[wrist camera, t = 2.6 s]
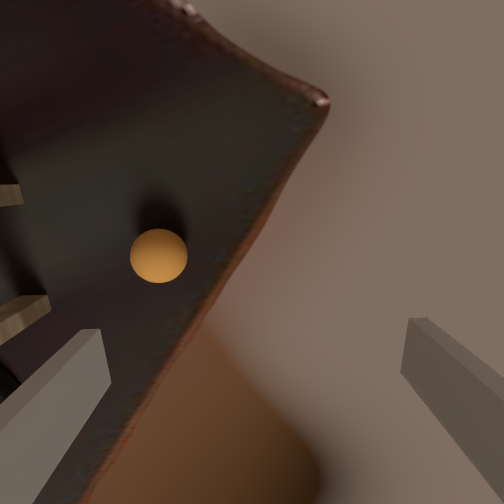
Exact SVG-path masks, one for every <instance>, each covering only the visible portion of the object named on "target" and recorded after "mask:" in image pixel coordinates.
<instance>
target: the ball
mask: <svg viewBox="0 0 504 504" xmlns="http://www.w3.org/2000/svg"><path fill="white" fill-rule="evenodd" d="M130 260H131V264H132V267H133V269H134V270H135V272H136V273H137V274H138V275H139V276H140V277H142V278H143V279H145V280H147V281H150V282H155V283H163V282H167V281H170V280H172V279H174V278H176V277H177V276H178V275H179V274H180V273H181V272H182V271H183V269H184V268H185V265H186V262H187V249H186V246H185V244H184V242H183V241H182V239H181V238H180V237H179V236H178V235H176V234H175V233H173V232H171V231H169V230H166V229H152V230H149V231H146V232H144V233H143V234H141V235H140V236H139V237H138V238H137V239H136V240H135V242H134V243H133V245H132V248H131V252H130Z"/></svg>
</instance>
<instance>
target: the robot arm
mask: <svg viewBox="0 0 504 504" xmlns="http://www.w3.org/2000/svg"><path fill="white" fill-rule="evenodd" d="M401 374H403V376H404V377H405V379H406V380H407V381H408V382H409V384H410V385H411V386H412V387H413V389H414V390H415V391H416V393H417V394H418V395H419V396H420V398H421V399H422V400H423V401H424V403H425V404H426V405H427V406H428V407H429V409H430V410H431V412H432V413H433V414H434V415H435V416H436V418H437V419H438V420H439V421H440V423H441V424H442V426H443V427H444V428H445V429H446V430H447V432H448V433H449V434H450V436H451V437H452V438H453V439H454V441H455V442H456V443H457V444H458V446H459V447H460V448H461V449H462V451H463V452H464V453H465V455H466V456H467V457H468V458H469V460H470V461H471V462H472V463H473V465H474V466H475V467H476V468H477V470H478V471H479V472H480V474H481V475H482V476H483V477H484V479H485V480H486V481H487V482H488V484H489V485H490V486H491V488H492V489H493V490H494V491H495V493H496V494H497V495H498V496H499V498H500V499H501V500H502V502H503V503H504V377H502V376H501V375H500V374H498V373H497V372H496V371H495V370H493V369H492V368H490V367H489V366H488V365H487V364H485V363H484V362H483V361H482V360H480V359H479V358H478V357H477V356H475V355H474V354H472V353H471V352H470V351H469V350H468V349H466V348H465V347H464V346H463V345H461V344H460V343H459V342H457V341H456V340H455V339H453V338H452V337H451V336H450V335H448V334H447V333H446V332H445V331H443V330H442V329H441V328H439V327H438V326H437V325H436V324H434V323H433V322H432V321H430V320H429V319H428V318H409V321H408V328H407V335H406V341H405V347H404V353H403V360H402V365H401ZM110 384H111V379H110V374H109V370H108V365H107V360H106V356H105V351H104V346H103V342H102V337H101V332H100V329H84V330H80V331H79V332H78V333H77V334H76V335H75V336H74V337H73V338H72V339H71V340H70V341H68V342H67V343H66V344H65V345H64V346H63V347H62V348H61V349H60V350H59V351H58V352H57V353H55V354H54V355H53V356H52V357H51V358H50V359H49V360H48V361H47V362H46V363H45V364H44V365H42V366H41V367H40V368H39V369H38V370H37V371H36V372H35V373H34V374H33V375H32V376H31V377H29V378H28V379H27V380H26V381H25V382H24V383H23V384H22V385H21V386H20V385H19V384H18V382H17V381H16V380H15V379H14V378H13V377H12V376H11V375H10V374H9V373H8V372H6V371H5V370H4V369H2V368H1V367H0V504H32V503H33V501H34V500H35V498H36V497H37V495H38V494H39V492H40V491H41V489H42V488H43V486H44V485H45V483H46V482H47V480H48V479H49V477H50V476H51V474H52V473H53V471H54V469H55V468H56V466H57V465H58V463H59V462H60V460H61V459H62V457H63V456H64V454H65V453H66V451H67V450H68V448H69V447H70V445H71V444H72V442H73V441H74V439H75V438H76V436H77V434H78V433H79V431H80V430H81V428H82V427H83V425H84V424H85V422H86V421H87V419H88V418H89V416H90V415H91V413H92V412H93V410H94V409H95V407H96V406H97V404H98V402H99V401H100V399H101V398H102V396H103V395H104V393H105V392H106V390H107V389H108V387H109V386H110Z"/></svg>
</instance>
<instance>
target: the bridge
mask: <svg viewBox="0 0 504 504" xmlns="http://www.w3.org/2000/svg"><path fill="white" fill-rule="evenodd" d="M19 204H24V201H23V197H22V193H21V189H20V185H19V184H13V185H0V207H3V206H11V205H19ZM50 311H51V306H50V302H49V298H48V295H21V296H20V297H18V298H16V299H14V300H12V301H10V302H8V303H6V304H4V305H3V306H1V307H0V345H1V344H3V343H4V342H6V341H7V340H9V339H10V338H12V337H13V336H15V335H16V334H18V333H19V332H20V331H22V330H23V329H25V328H26V327H28V326H29V325H31V324H32V323H34V322H35V321H36V320H38V319H39V318H41V317H42V316H44V315H45V314H47V313H48V312H50Z"/></svg>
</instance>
